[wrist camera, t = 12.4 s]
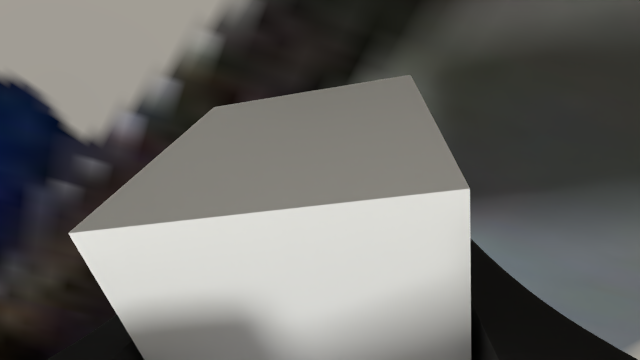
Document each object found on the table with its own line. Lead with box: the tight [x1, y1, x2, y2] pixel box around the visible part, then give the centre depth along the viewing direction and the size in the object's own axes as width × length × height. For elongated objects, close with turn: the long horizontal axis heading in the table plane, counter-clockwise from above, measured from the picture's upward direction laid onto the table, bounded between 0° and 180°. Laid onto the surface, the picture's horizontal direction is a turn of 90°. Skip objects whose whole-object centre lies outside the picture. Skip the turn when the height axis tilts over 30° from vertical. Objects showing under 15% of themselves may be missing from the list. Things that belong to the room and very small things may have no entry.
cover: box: [68, 75, 471, 360], centre depth 10 cm, size 6×9×7 cm, turn 11°
